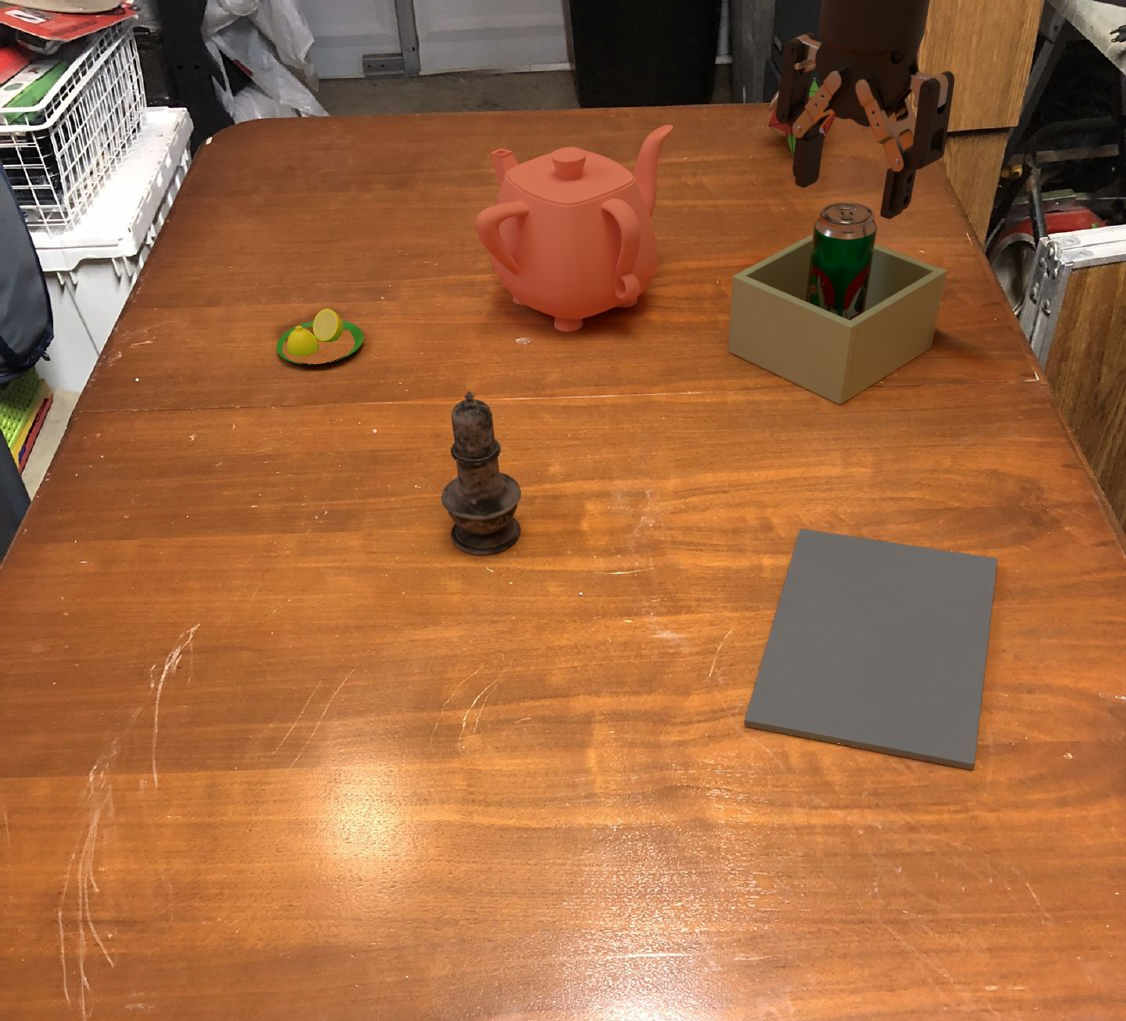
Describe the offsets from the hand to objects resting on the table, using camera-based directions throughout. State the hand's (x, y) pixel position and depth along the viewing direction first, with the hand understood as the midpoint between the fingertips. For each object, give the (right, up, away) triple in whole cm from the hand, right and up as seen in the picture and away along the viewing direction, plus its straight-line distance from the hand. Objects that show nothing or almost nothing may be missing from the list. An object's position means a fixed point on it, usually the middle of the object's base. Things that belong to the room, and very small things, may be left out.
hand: (847, 199), depth 94 cm
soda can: (+1, -9, +10) cm, 13 cm away
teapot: (-21, 0, +19) cm, 28 cm away
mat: (-2, -37, -15) cm, 40 cm away
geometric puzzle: (+4, +24, +39) cm, 46 cm away
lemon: (-45, -7, +14) cm, 48 cm away
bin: (+1, -9, +10) cm, 13 cm away
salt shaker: (-29, -28, -5) cm, 40 cm away
